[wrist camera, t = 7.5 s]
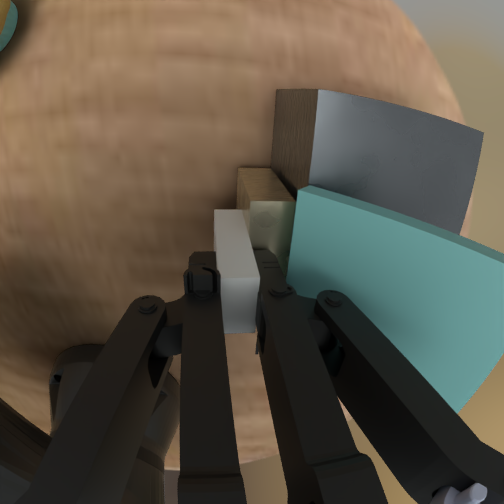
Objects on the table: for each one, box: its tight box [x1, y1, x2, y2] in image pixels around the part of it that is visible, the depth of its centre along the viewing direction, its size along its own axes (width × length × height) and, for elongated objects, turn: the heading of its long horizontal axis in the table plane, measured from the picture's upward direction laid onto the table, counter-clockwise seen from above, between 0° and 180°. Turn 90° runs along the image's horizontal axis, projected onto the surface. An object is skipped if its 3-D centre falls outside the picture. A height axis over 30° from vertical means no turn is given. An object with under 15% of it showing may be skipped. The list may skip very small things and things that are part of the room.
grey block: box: [270, 89, 484, 278], centre depth 19 cm, size 10×16×8 cm, turn 176°
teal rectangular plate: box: [286, 185, 504, 413], centre depth 11 cm, size 10×8×1 cm
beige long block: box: [236, 168, 296, 280], centre depth 18 cm, size 15×6×6 cm, turn 86°
